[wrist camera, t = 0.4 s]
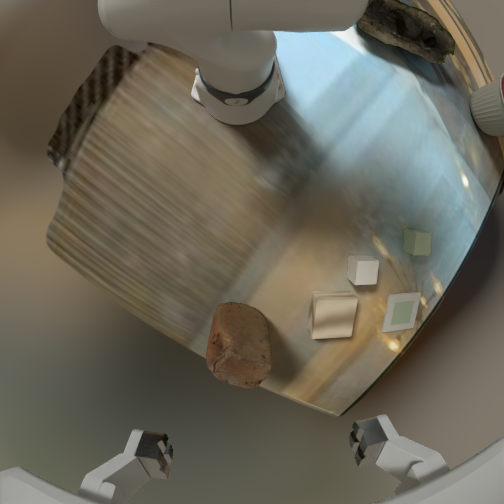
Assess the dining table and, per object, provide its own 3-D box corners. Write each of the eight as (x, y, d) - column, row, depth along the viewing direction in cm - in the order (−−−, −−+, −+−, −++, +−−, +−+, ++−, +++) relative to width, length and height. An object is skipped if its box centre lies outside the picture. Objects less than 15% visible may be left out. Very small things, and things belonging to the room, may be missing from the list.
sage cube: (404, 229, 55) (415, 232, 50) (420, 229, 55) (432, 233, 50) (402, 250, 56) (413, 255, 51) (418, 250, 56) (430, 255, 51)
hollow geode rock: (425, 65, 50) (446, 30, 37) (442, 81, 43) (468, 41, 31) (337, 17, 47) (356, -24, 34) (343, 23, 40) (366, -26, 27)
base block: (311, 291, 58) (316, 300, 53) (349, 290, 58) (357, 298, 53) (307, 328, 60) (312, 338, 55) (344, 326, 60) (351, 336, 55)
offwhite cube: (348, 255, 56) (357, 261, 51) (369, 255, 56) (379, 260, 51) (346, 277, 57) (355, 285, 52) (366, 277, 57) (376, 284, 52)
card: (388, 294, 58) (389, 295, 58) (419, 291, 59) (421, 292, 58) (381, 331, 60) (382, 332, 60) (412, 326, 61) (413, 328, 60)
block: (268, 312, 58) (279, 366, 39) (253, 339, 60) (257, 398, 40) (222, 292, 57) (212, 341, 37) (209, 320, 58) (195, 376, 39)
